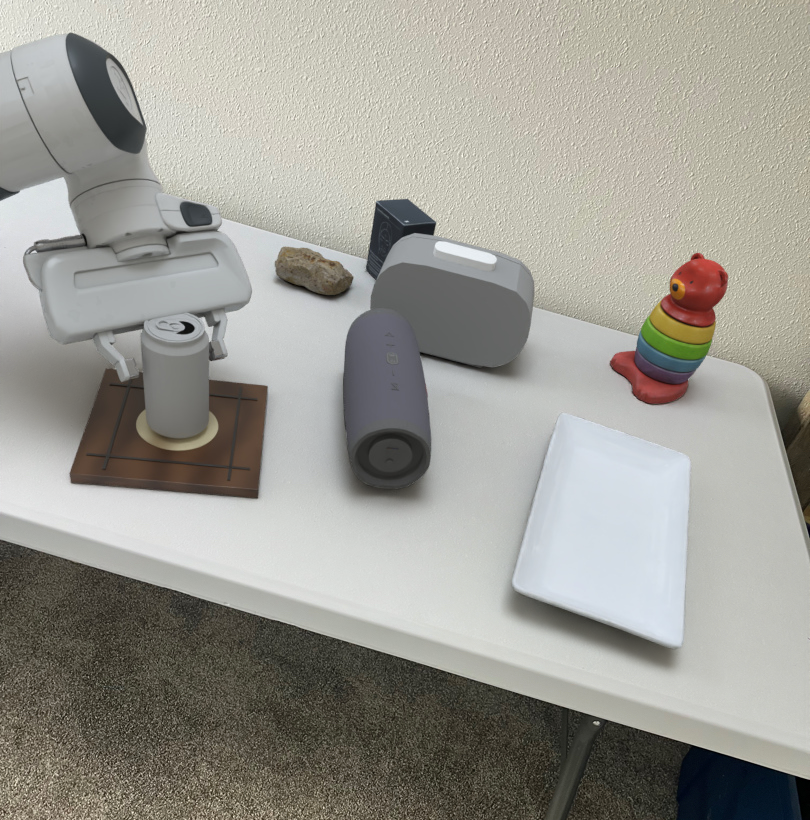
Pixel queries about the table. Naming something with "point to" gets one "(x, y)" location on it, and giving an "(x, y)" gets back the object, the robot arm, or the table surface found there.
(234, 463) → the board
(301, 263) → the rock
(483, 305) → the grey rounded block
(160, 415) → the beverage can
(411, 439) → the bluetooth speaker
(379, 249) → the box
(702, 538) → the table surface
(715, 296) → the stacking bear
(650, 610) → the tray
